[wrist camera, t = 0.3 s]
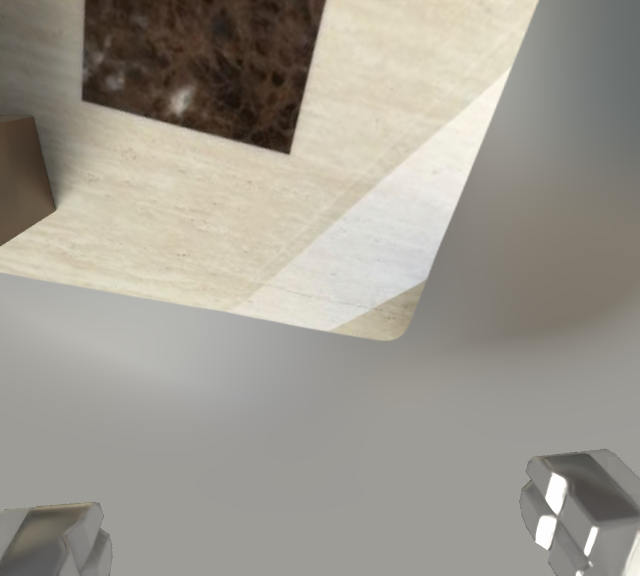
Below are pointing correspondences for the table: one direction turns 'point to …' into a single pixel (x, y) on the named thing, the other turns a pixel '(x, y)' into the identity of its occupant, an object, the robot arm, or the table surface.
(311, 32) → the table surface
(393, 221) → the table surface
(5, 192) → the block
